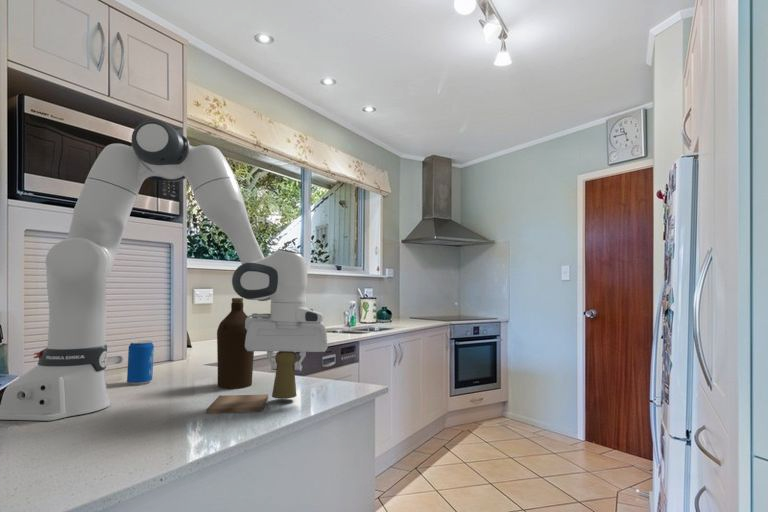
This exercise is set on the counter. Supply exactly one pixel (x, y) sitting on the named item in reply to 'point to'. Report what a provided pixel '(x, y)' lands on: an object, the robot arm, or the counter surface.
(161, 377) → the counter surface
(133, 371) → the beverage can
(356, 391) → the counter surface
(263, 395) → the walnut trivet
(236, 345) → the olive oil
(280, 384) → the cork
